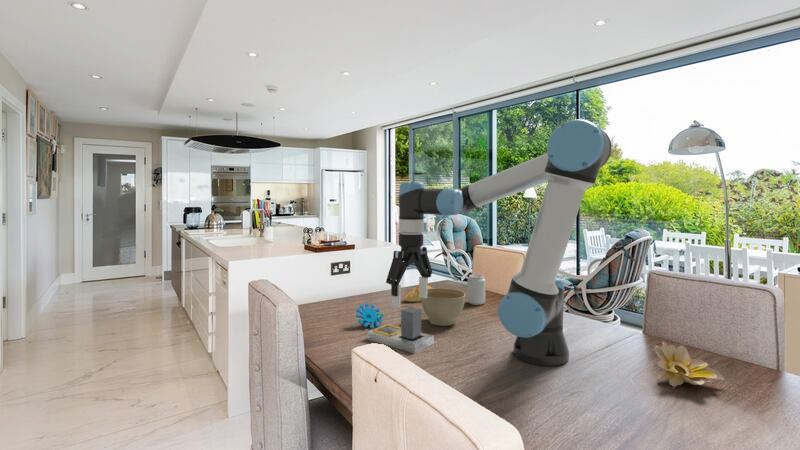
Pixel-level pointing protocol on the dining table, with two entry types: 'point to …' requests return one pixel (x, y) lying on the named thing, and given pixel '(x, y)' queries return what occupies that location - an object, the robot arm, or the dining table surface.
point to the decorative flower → (683, 366)
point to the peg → (411, 324)
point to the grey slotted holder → (399, 338)
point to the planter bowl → (443, 305)
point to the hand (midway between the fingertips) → (410, 301)
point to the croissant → (414, 295)
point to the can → (476, 289)
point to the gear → (369, 315)
